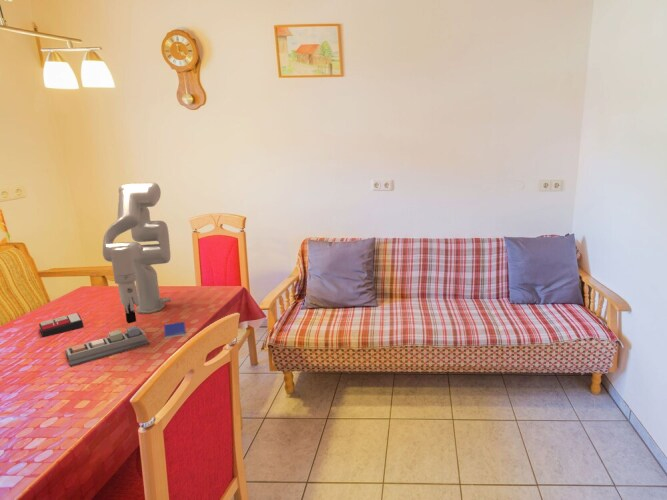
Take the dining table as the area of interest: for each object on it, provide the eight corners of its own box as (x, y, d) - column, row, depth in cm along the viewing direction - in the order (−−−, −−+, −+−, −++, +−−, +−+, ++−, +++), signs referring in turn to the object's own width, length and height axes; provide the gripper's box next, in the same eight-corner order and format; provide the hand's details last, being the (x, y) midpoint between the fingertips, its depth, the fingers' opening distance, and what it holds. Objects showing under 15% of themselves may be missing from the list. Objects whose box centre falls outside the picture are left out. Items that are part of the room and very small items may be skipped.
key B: (84, 349, 164) (83, 343, 163) (86, 353, 161) (85, 347, 160) (72, 352, 162) (71, 346, 161) (74, 356, 158) (72, 350, 158)
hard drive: (185, 332, 177) (184, 321, 188) (164, 336, 174) (164, 324, 185) (185, 336, 177) (184, 325, 189) (164, 339, 175) (164, 328, 186)
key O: (103, 344, 168) (102, 338, 167) (105, 348, 165) (104, 342, 164) (91, 347, 165) (90, 341, 165) (93, 351, 162) (92, 345, 162)
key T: (137, 331, 175) (136, 325, 174) (140, 334, 172) (139, 328, 171) (127, 333, 173) (126, 328, 172) (129, 337, 170) (128, 331, 169)
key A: (120, 335, 171) (119, 329, 171) (122, 338, 168) (121, 333, 168) (109, 338, 169) (108, 332, 168) (111, 341, 166) (110, 336, 165)
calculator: (38, 321, 186) (77, 311, 195) (40, 330, 187) (79, 320, 196) (41, 330, 177) (81, 318, 186) (43, 339, 179) (84, 327, 187)
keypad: (140, 332, 181) (139, 325, 180) (149, 344, 170) (148, 337, 169) (65, 352, 165) (64, 345, 164) (70, 366, 154) (69, 359, 153)
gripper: (140, 279, 163) (146, 325, 167) (130, 272, 174) (136, 314, 178) (119, 284, 158) (125, 330, 162) (110, 275, 170) (117, 319, 174)
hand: (131, 321), depth 170 cm, fingers closed
